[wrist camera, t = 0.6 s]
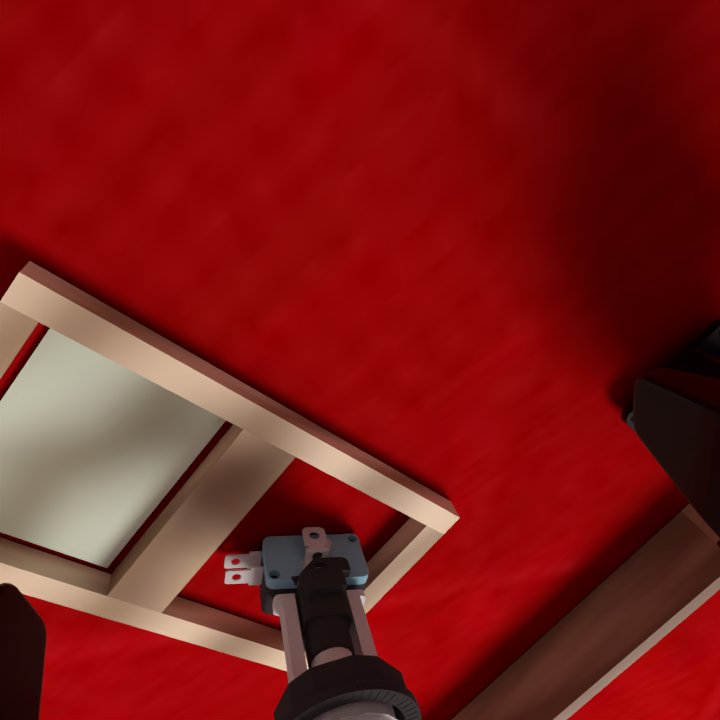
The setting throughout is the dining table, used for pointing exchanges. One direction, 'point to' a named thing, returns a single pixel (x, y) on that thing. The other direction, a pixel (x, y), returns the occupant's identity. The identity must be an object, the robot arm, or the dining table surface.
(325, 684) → the push button
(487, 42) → the dining table surface
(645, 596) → the tray rim
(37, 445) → the wooden double frame
